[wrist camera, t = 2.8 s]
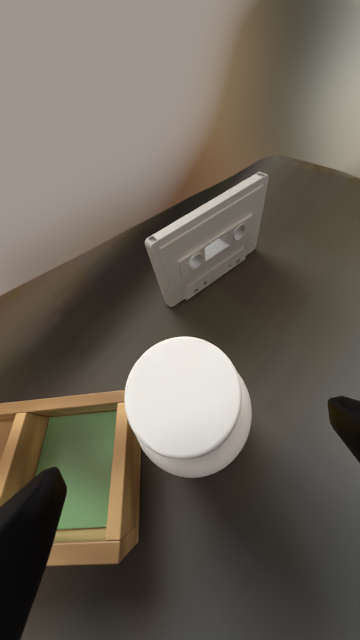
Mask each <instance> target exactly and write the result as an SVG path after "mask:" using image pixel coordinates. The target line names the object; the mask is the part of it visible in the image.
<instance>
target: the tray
mask: <svg viewBox="0 0 360 640" xmlns="http://www.w3.org/2000/svg"><path fill="white" fill-rule="evenodd" d="M124 397H125V390H120V391H111V392H102V393H93V394H83V395H74V396H65V397H56V398H47V399H37V400H28V401H19V402H10V403H0V507H1V506H2V505H3V504H4V503H5V502H6V501H7V500H9V499H10V498H11V497H12V496H13V495H14V494H16V493H17V492H18V491H19V490H20V489H21V488H23V487H24V486H25V485H26V484H27V483H28V482H29V481H31V480H32V479H33V478H34V477H35V476H36V475H38V474H39V473H40V472H41V471H42V470H44V469H48V468H52V467H57V468H59V470H60V472H61V474H62V476H63V479H64V481H65V483H66V485H67V495H66V499H65V502H64V506H63V510H62V513H61V517H60V521H59V524H58V528H57V531H56V535H55V539H54V542H53V546H52V549H51V553H50V556H49V559H48V562H47V565H46V566H70V565H104V564H119V563H120V562H121V561H122V559H123V558H124V557H125V556H126V555H127V554H128V553H129V552H130V550H131V549H132V548H133V547H134V546H135V545H136V544H137V543H138V540H139V506H140V472H141V446H140V444H139V442H138V440H137V437H136V435H135V433H134V432H133V430H132V428H131V426H130V424H129V421H128V419H127V416H126V411H125V401H124Z"/></svg>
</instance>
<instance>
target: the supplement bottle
mask: <svg viewBox="0 0 360 640" xmlns="http://www.w3.org/2000/svg"><path fill="white" fill-rule="evenodd" d="M124 401H125V411H126V416H127V419H128V421H129V424H130V426H131V428H132V430H133V432H134V433H135V435H136V437H137V440H138V442H139V444H140V446H141V448H142V450H143V451H144V452H145V454H146V455H147V456H148V457H149V458H150V460H151V461H152V462H153V463H155V464H156V465H157V466H158V467H160V468H161V469H163V470H165V471H166V472H169V473H171V474H173V475H177V476H180V477H187V478H196V477H204V476H208V475H211V474H214V473H216V472H218V471H220V470H221V469H223V468H225V467H226V466H227V465H228V464H230V463H231V462H232V461H233V460H234V459H235V458H236V457H237V455H238V454H239V453H240V451H241V450H242V448H243V446H244V444H245V442H246V440H247V437H248V434H249V431H250V426H251V418H252V409H251V401H250V397H249V393H248V390H247V388H246V386H245V383H244V381H243V380H242V378H241V377H240V375H239V374H238V372H237V371H236V369H235V367H234V365H233V364H232V362H231V361H230V359H229V358H228V357H227V356H226V355H225V354H224V353H223V352H222V351H221V350H220V349H219V348H217V347H216V346H215V345H213V344H211V343H209V342H207V341H205V340H202V339H198V338H194V337H176V338H171V339H167V340H164V341H162V342H160V343H158V344H156V345H154V346H153V347H151V348H150V349H148V350H147V351H146V352H145V353H144V354H143V355H142V356H141V357H140V358H139V360H138V361H137V362H136V363H135V365H134V367H133V368H132V370H131V372H130V375H129V377H128V380H127V383H126V388H125V397H124Z"/></svg>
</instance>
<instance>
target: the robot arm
mask: <svg viewBox="0 0 360 640" xmlns="http://www.w3.org/2000/svg"><path fill="white" fill-rule="evenodd" d="M328 410H329V418H330V423H331V425H332V427H333V429H334V430H335V431H336V433H337V434H338V435H339V437H340V438H341V439H342V441H343V442H344V443H345V444H346V446H347V447H348V448H349V450H350V451H351V452H352V454H353V455H354V456H355V457H356V459H357V460H358V461H359V463H360V401H357V400H354V399H351V398H348V397H344V396H338V397H334V398H330V399H329V400H328ZM66 495H67V485H66V483H65V481H64V479H63V476H62V474H61V472H60V470H59V468H57V467H52V468H48V469H44V470H42V471H41V472H40V473H39V474H38V475H36V476H35V477H34V478H33V479H32V480H31V481H29V482H28V483H27V484H26V485H25V486H24V487H23V488H21V489H20V490H19V491H18V492H17V493H16V494H14V495H13V496H12V497H11V498H10V499H9V500H7V501H6V502H5V503H4V504H3V505H2V506H1V507H0V640H20V639H21V636H22V633H23V631H24V628H25V625H26V622H27V619H28V616H29V614H30V611H31V608H32V605H33V602H34V599H35V597H36V594H37V591H38V588H39V585H40V582H41V580H42V577H43V574H44V571H45V568H46V565H47V562H48V559H49V556H50V553H51V549H52V546H53V542H54V539H55V535H56V531H57V528H58V524H59V521H60V517H61V513H62V510H63V506H64V502H65V499H66Z"/></svg>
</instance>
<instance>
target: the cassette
mask: <svg viewBox="0 0 360 640" xmlns="http://www.w3.org/2000/svg"><path fill="white" fill-rule="evenodd" d="M268 178H269V176H268V175H267V174H264V173H261V172H258V173H256V174H255V175H253V176H251V177H250V178H248V179H246V180H244V181H243V182H241V183H239V184H238V185H236V186H234V187H233V188H231V189H229V190H228V191H226V192H224V193H223V194H221V195H219V196H217V197H216V198H214V199H212V200H211V201H209V202H207V203H206V204H204V205H202V206H201V207H199V208H197V209H196V210H194V211H192V212H190V213H189V214H187V215H185V216H184V217H182V218H180V219H179V220H177V221H175V222H174V223H172V224H170V225H169V226H167V227H165V228H164V229H162V230H160V231H158V232H157V233H155V234H153V235H152V236H150V237H148V238H147V239H146V240H145V246H146V249H147V252H148V255H149V257H150V260H151V263H152V266H153V269H154V272H155V275H156V277H157V280H158V283H159V286H160V289H161V292H162V295H163V297H164V300H165V303H166V304H167V305H168V306H169V307H173V306H175V305H176V304H178V303H179V302H181V301H182V300H184V299H186V300H188V299H190V298H191V297H193V296H194V295H195V294H197V293H198V292H200V291H201V290H202V289H204V288H205V287H207V286H208V285H210V284H211V283H212V282H214V281H215V280H217V279H218V278H219V277H221V276H222V275H224V274H225V273H227V272H228V271H229V270H231V269H232V268H234V267H235V266H236V265H238V264H239V263H241V262H242V261H244V260H245V259H246V258H245V256H246V255H248V254H249V253H251V252H252V251H253V250H254V249H255V248H256V243H257V238H258V232H259V227H260V221H261V216H262V211H263V205H264V200H265V194H266V189H267V184H268Z"/></svg>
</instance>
